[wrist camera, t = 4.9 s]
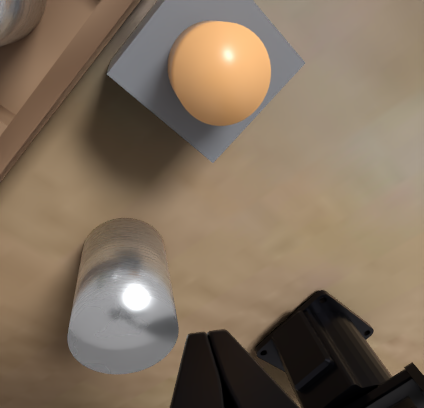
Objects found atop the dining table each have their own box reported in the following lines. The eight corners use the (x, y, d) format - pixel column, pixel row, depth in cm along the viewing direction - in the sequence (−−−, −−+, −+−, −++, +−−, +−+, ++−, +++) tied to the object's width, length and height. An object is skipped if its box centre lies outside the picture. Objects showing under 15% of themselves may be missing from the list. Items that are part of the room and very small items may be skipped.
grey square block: (268, 52, 17) (305, 62, 14) (196, 133, 18) (213, 163, 15) (187, -39, 15) (207, -54, 11) (110, 60, 16) (106, 74, 12)
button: (268, 64, 13) (290, 73, 12) (212, 127, 14) (224, 144, 12) (208, -2, 12) (222, -3, 10) (149, 71, 13) (153, 80, 11)
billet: (181, 245, 21) (199, 323, 16) (132, 297, 22) (134, 386, 17) (116, 203, 19) (113, 275, 14) (65, 261, 20) (44, 350, 15)
